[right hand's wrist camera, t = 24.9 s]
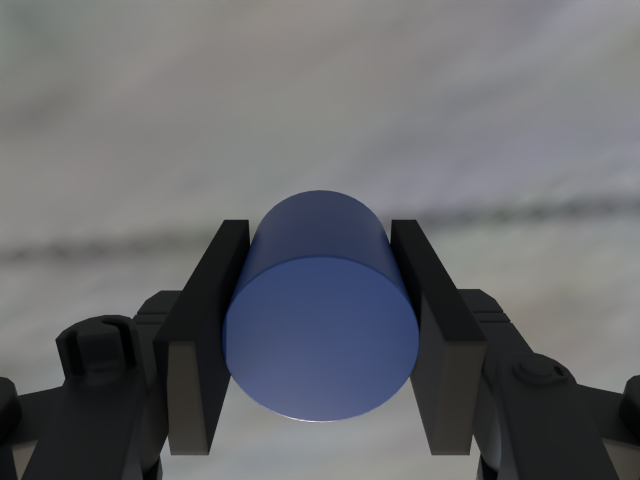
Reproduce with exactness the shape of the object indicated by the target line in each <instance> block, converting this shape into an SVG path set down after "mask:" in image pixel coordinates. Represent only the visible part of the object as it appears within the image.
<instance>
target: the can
mask: <svg viewBox="0 0 640 480" xmlns="http://www.w3.org/2000/svg"><path fill="white" fill-rule="evenodd" d="M419 341H420V329H419V323H418V319H417V316H416V313H415V310H414V307H413V304H412V302H411V299H410V296H409V294H408V291H407V288H406V286H405V283H404V280H403V278H402V275H401V272H400V270H399V267H398V264H397V262H396V259H395V256H394V254H393V251H392V248H391V246H390V243H389V240H388V238H387V235H386V232H385V230H384V228H383V226H382V224H381V222H380V221H379V220H378V218H377V217H376V215H375V214H374V213H373V212H372V211H371V210H370V209H369V208H368V207H366V206H365V205H364V204H363V203H361V202H359V201H358V200H356V199H354V198H352V197H350V196H348V195H345V194H342V193H338V192H333V191H322V190H317V191H308V192H303V193H299V194H296V195H294V196H291V197H289V198H287V199H285V200H283V201H282V202H280V203H279V204H277V205H276V206H275V207H273V208H272V209H271V210H270V211H269V212H268V213H267V214H266V216H265V217H264V218H263V219H262V221H261V223H260V224H259V226H258V228H257V230H256V233H255V235H254V238H253V240H252V243H251V246H250V248H249V251H248V254H247V257H246V259H245V262H244V265H243V267H242V270H241V273H240V275H239V278H238V281H237V284H236V286H235V289H234V292H233V294H232V297H231V300H230V302H229V305H228V308H227V310H226V313H225V317H224V320H223V324H222V332H221V343H222V351H223V356H224V359H225V362H226V365H227V367H228V370H229V371H230V373H231V375H232V377H233V379H234V380H235V381H236V383H237V384H238V385H239V387H240V388H241V389H242V390H243V391H244V392H245V393H246V394H247V395H248V396H249V397H250V398H252V399H253V400H254V401H255V402H257V403H258V404H260V405H261V406H263V407H264V408H266V409H268V410H270V411H272V412H274V413H276V414H279V415H282V416H285V417H288V418H292V419H296V420H301V421H308V422H333V421H340V420H346V419H350V418H353V417H357V416H359V415H362V414H364V413H367V412H369V411H371V410H373V409H375V408H377V407H379V406H380V405H382V404H383V403H384V402H386V401H387V400H389V399H390V398H391V397H392V396H393V395H394V394H395V393H397V391H398V390H399V389H400V388H401V387H402V386H403V385H404V383H405V382H406V380H407V379H408V377H409V376H410V374H411V372H412V370H413V368H414V366H415V363H416V360H417V357H418V351H419Z"/></svg>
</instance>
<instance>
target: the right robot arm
mask: <svg viewBox="0 0 640 480" xmlns="http://www.w3.org/2000/svg"><path fill="white" fill-rule="evenodd" d="M390 246H391V248H392V251H393V254H394V256H395V259H396V262H397V264H398V267H399V270H400V272H401V275H402V278H403V280H404V283H405V286H406V288H407V291H408V294H409V296H410V299H411V302H412V304H413V307H414V310H415V313H416V316H417V319H418V323H419V329H420V341H419V351H418V357H417V360H416V363H415V366H414V368H413V370H412V372H411V374H410V380H411V383H412V387H413V390H414V394H415V397H416V401H417V404H418V408H419V412H420V415H421V419H422V422H423V426H424V429H425V433H426V436H427V440H428V444H429V447H430V451H431V454H432V455H469V454H470V448H471V442H472V436H473V435H474V437H475V440H476V442H477V444H478V447H479V449H480V452H481V454H480V459H479V465H478V470H477V476H476V480H640V375H637V376H633V377H632V378H631V379H629V380H628V381H627V383H626V386H625V389H624V392H623V394H620V393H615V392H611V391H606V390H601V389H596V388H591V387H587V386H583V385H580V384H577V383H576V380H575V378H574V377H573V375H572V374H571V373H570V371H569V370H568V369H567V368H566V367H564V366H563V365H561V364H560V363H559V362H557V361H556V360H553V359H551V358H549V357H546V356H544V355H542V354H537V353H534V352H533V351H532V350H531V348H530V347H529V345H528V344H527V343H526V341H525V340H524V339H523V337H522V336H521V334H520V333H519V332H518V330H517V329H516V328H515V326H514V325H513V323H510V319H509V318H508V317H507V315H506V314H505V313H503V310H502V308H501V307H500V306H499V304H498V303H497V301H496V300H495V299H494V298H492V297H491V296H489V295H488V294H486V293H485V292H483V291H482V290H480V289H457V288H456V286H455V285H454V283H453V281H452V280H451V278H450V276H449V275H448V273H447V271H446V270H445V268H444V266H443V265H442V263H441V261H440V260H439V258H438V256H437V254H436V253H435V251H434V249H433V248H432V246H431V244H430V243H429V241H428V239H427V238H426V236H425V234H424V233H423V231H422V229H421V228H420V226H419V224H418V223H417V221H416V220H392V225H391V240H390ZM249 248H250V236H249V220H224V221H223V223H222V225H221V226H220V228H219V230H218V232H217V233H216V235H215V237H214V238H213V240H212V242H211V243H210V245H209V247H208V248H207V250H206V252H205V253H204V255H203V257H202V258H201V260H200V262H199V263H198V265H197V267H196V268H195V270H194V272H193V274H192V275H191V277H190V279H189V280H188V282H187V284H186V285H185V287H184V289H183V290H182V291H160V292H158V293H157V294H155V295H154V296H152V297H151V298H149V299H147V300H146V301H145V302H144V304H143V305H142V307H141V308H140V309H139V311H138V312H137V315H135V316H134V318H133V319H131V318H130V317H125V316H121V315H103V316H98V317H93V318H89V319H86V320H83V321H81V322H78V323H75V324H74V325H72V326H70V327H69V328H67V329H66V330H64V331H63V332H62V333H61V334H60V335H59V336H58V337H57V338H56V339H55V340H56V344H57V348H58V352H59V356H60V359H61V363H62V367H63V371H64V375H65V381H64V383H63V386H61V387H57V388H53V389H49V390H44V391H39V392H34V393H30V394H25V395H20V396H18V394H17V391H16V388H15V385H14V383H13V382H12V381H10V380H9V379H8V378H4V377H0V480H162V475H163V472H162V465H161V459H160V452H161V450H162V448H163V445H164V443H165V440H166V438H167V435H168V440H169V446H170V452H171V455H209V452H210V448H211V445H212V441H213V438H214V434H215V430H216V427H217V423H218V420H219V416H220V413H221V409H222V406H223V402H224V398H225V395H226V391H227V388H228V384H229V381H230V377H231V373H230V371H229V370H228V367H227V365H226V362H225V359H224V356H223V351H222V343H221V332H222V324H223V320H224V317H225V313H226V310H227V308H228V305H229V302H230V300H231V297H232V294H233V292H234V289H235V286H236V284H237V281H238V278H239V275H240V273H241V270H242V267H243V265H244V262H245V259H246V257H247V254H248V251H249Z"/></svg>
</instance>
